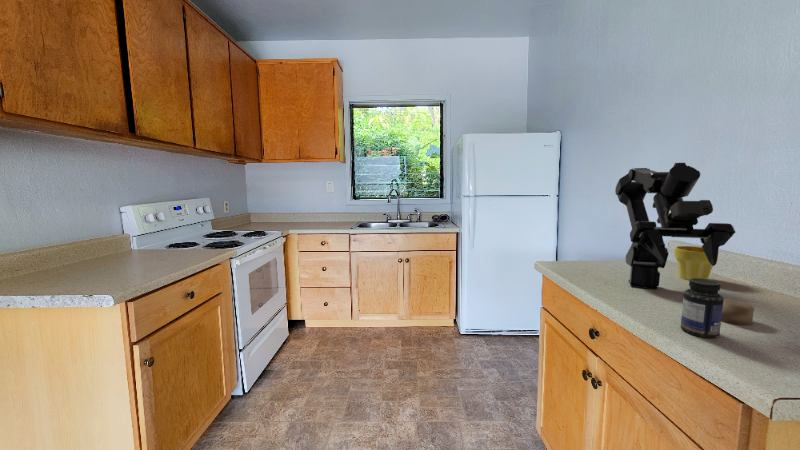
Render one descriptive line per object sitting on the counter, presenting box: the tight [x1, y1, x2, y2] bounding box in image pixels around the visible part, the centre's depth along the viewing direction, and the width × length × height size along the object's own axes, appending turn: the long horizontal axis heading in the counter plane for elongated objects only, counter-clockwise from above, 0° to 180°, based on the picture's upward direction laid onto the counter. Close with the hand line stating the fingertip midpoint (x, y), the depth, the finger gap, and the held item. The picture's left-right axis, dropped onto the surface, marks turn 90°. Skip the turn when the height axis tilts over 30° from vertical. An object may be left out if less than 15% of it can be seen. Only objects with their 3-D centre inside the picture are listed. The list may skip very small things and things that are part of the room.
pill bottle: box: [680, 278, 724, 339], centre depth 69 cm, size 6×6×11 cm
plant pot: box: [673, 245, 719, 281], centre depth 106 cm, size 10×10×10 cm
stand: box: [721, 298, 755, 326], centre depth 75 cm, size 7×7×4 cm
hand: (688, 263), depth 74 cm, fingers open, 9 cm apart
